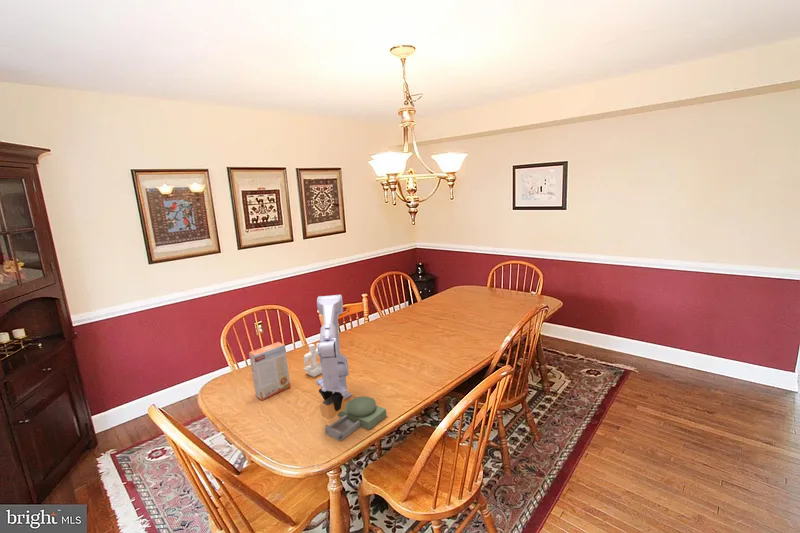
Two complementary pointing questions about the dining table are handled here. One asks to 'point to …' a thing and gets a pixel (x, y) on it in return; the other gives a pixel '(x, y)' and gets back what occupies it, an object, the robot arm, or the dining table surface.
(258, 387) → the cracker box
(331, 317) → the robot arm
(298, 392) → the dining table surface
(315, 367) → the figurine
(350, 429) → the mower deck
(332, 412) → the orange-framed grey panel
